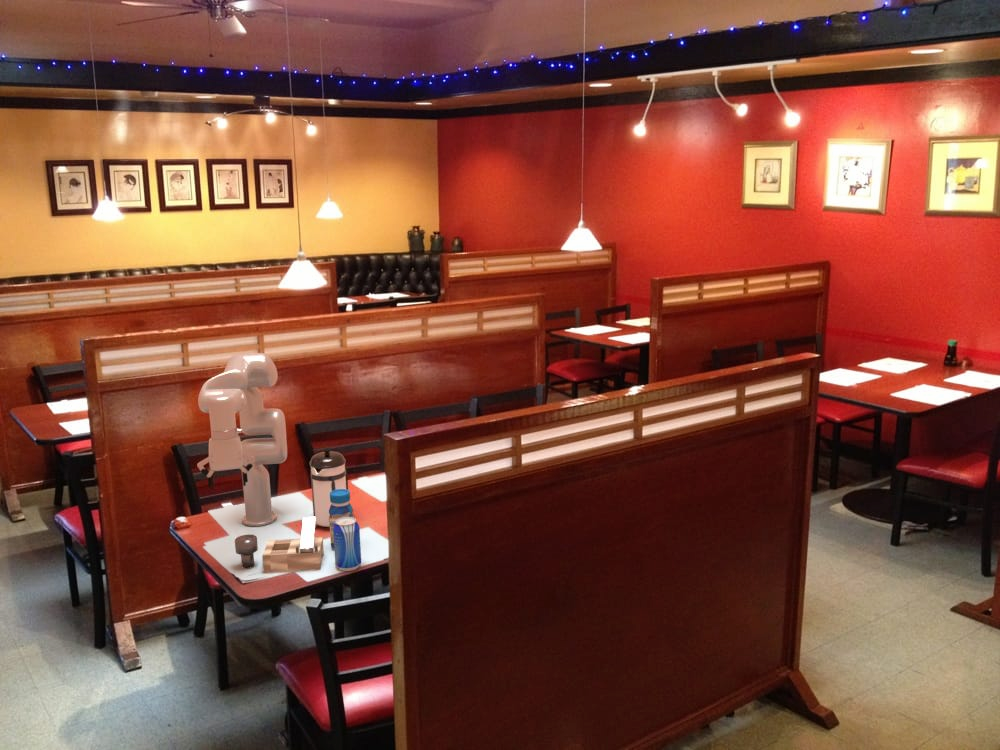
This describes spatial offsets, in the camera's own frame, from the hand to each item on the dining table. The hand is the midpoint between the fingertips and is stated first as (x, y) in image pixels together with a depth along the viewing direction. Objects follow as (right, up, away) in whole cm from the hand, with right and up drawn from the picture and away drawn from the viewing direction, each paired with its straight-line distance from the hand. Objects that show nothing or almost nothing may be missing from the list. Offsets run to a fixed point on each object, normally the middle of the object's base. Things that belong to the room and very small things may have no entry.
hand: (228, 486), depth 265 cm
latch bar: (+22, -18, +13) cm, 31 cm away
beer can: (+36, -28, +11) cm, 47 cm away
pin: (+2, -28, +12) cm, 31 cm away
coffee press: (+24, -20, +46) cm, 55 cm away
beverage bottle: (+31, -25, +26) cm, 47 cm away
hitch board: (+17, -27, +14) cm, 35 cm away
